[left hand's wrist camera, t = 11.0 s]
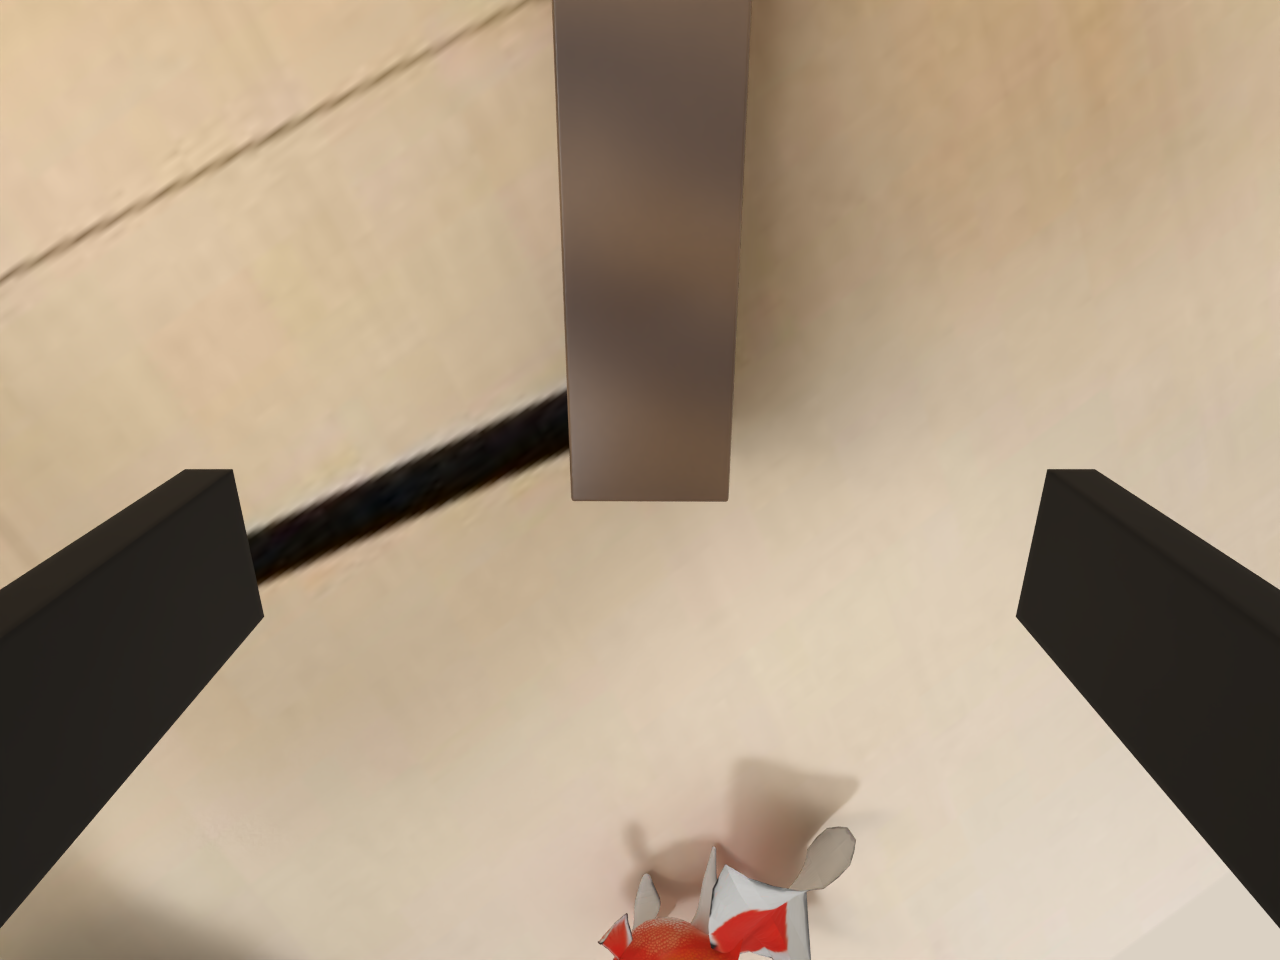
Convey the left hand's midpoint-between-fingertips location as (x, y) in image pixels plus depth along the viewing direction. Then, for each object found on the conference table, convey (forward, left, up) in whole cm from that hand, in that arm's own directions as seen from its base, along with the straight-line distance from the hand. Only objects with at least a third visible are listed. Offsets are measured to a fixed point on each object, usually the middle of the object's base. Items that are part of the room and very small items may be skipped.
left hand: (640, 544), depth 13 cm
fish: (-28, -10, -19) cm, 36 cm away
